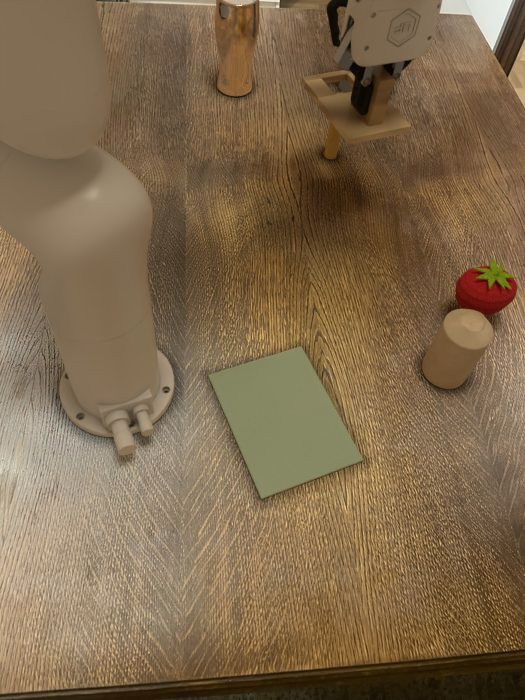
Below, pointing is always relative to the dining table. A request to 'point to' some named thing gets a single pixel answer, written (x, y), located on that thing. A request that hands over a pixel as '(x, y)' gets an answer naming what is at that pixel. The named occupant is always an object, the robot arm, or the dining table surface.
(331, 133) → the wooden peg
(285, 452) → the mat
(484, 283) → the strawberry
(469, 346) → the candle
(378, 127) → the wooden board with handle
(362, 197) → the dining table surface
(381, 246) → the dining table surface
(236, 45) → the beer glass
